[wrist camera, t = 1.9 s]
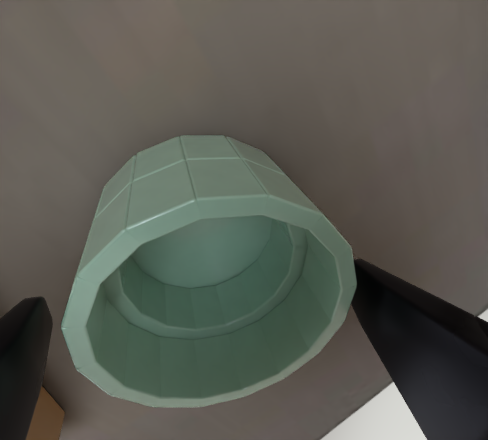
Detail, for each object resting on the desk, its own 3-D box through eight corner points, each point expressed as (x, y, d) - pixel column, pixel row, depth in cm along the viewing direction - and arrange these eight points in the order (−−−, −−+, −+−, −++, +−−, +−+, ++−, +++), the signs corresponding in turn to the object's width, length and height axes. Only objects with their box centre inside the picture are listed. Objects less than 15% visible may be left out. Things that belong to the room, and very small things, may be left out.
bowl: (114, 304, 13) (96, 431, 9) (77, 129, 9) (15, 207, 5) (276, 283, 15) (325, 379, 11) (301, 130, 11) (392, 188, 7)
